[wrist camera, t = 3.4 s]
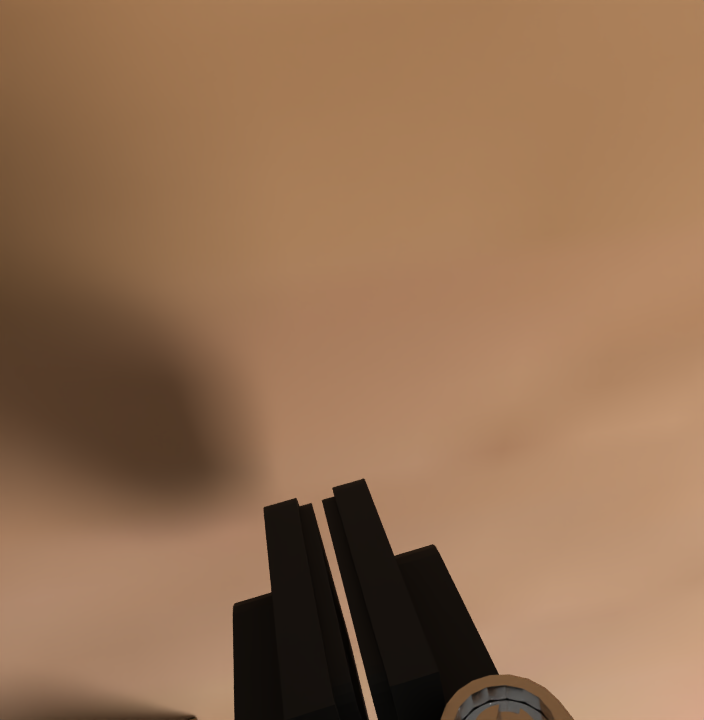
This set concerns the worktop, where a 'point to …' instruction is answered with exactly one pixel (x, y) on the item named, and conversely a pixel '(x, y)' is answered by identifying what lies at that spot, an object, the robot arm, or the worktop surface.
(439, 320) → the worktop surface
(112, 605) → the worktop surface
